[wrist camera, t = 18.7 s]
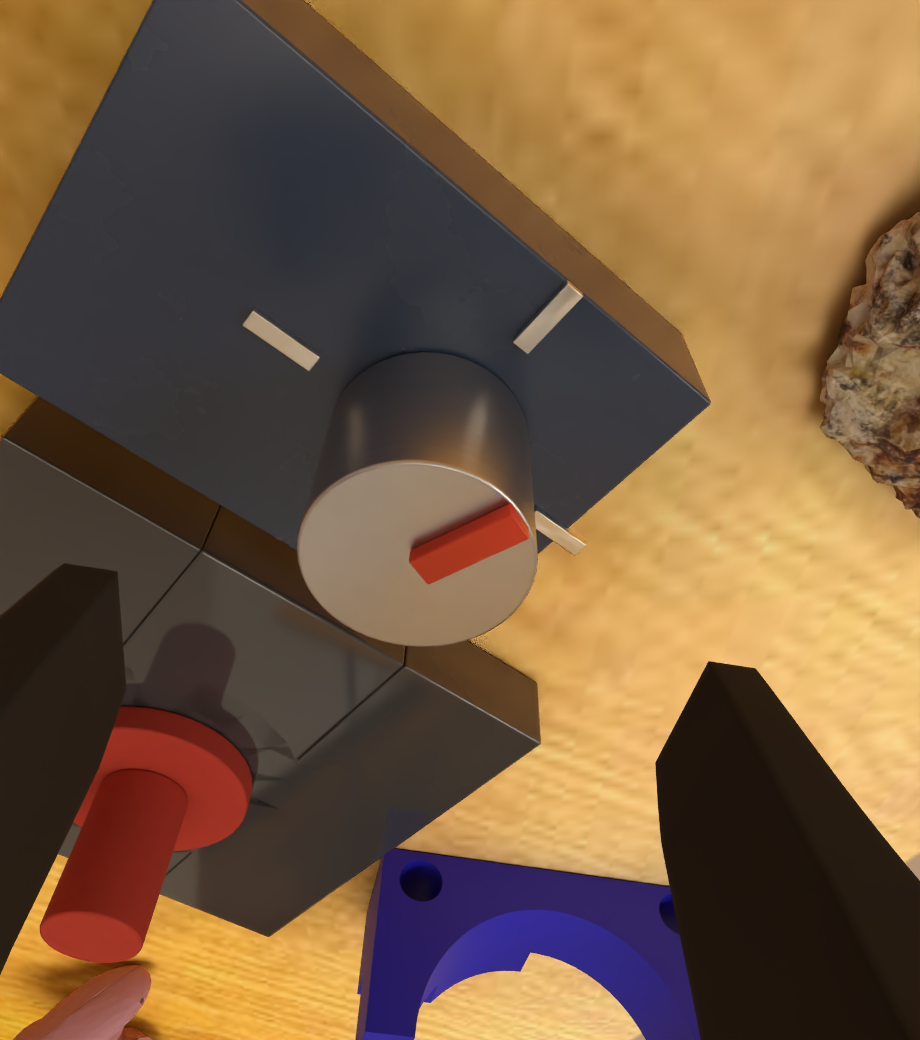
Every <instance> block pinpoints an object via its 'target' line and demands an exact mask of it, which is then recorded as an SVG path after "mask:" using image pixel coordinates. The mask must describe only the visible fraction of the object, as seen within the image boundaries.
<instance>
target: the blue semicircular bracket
mask: <svg viewBox="0 0 920 1040" xmlns="http://www.w3.org/2000/svg"><path fill="white" fill-rule="evenodd" d="M530 952H531V953H537V954H541V955H545V956H550V957H552V958H555V959H558V960H561V961H563V962H566V963H568V964H570V965H572V966H574V967H576V968H578V969H579V970H581V971H583V972H584V973H586V974H588V975H589V976H590V977H592V978H593V979H594V980H596V981H597V982H599V983H600V984H601V985H602V986H603V987H604V988H606V989H607V990H608V991H609V992H610V993H611V994H612V995H613V996H614V997H615V998H616V999H617V1000H618V1001H619V1002H620V1003H621V1004H622V1006H623V1007H624V1008H625V1009H626V1011H627V1012H628V1013H629V1014H630V1016H631V1017H632V1018H633V1020H634V1021H635V1023H636V1024H637V1026H638V1027H639V1029H640V1030H641V1032H642V1034H643V1036H644V1037H645V1039H646V1040H700V1034H699V1028H698V1022H697V1018H696V1013H695V1008H694V1003H693V998H692V993H691V988H690V983H689V978H688V973H687V969H686V964H685V959H684V954H683V949H682V944H681V939H680V934H679V929H678V924H677V920H676V915H675V910H674V905H673V900H672V895H671V890H670V887H665V886H658V885H651V884H644V883H636V882H629V881H622V880H615V879H608V878H601V877H593V876H586V875H579V874H572V873H565V872H558V871H550V870H543V869H536V868H529V867H522V866H514V865H507V864H500V863H493V862H486V861H479V860H471V859H464V858H457V857H450V856H443V855H436V854H428V853H421V852H414V851H407V850H400V849H392V850H391V851H390V852H388V853H387V854H385V855H384V856H382V858H381V862H380V866H379V869H378V873H377V877H376V881H375V884H374V888H373V892H372V895H371V899H370V903H369V906H368V910H367V916H366V925H365V933H364V942H363V950H362V959H361V967H360V976H359V985H358V993H357V994H361V997H360V1006H359V1015H358V1023H357V1032H356V1040H414V1038H415V1031H416V1022H417V1016H418V1012H419V1009H420V1007H421V1005H422V1003H423V1002H428V1003H431V1002H432V1001H433V1000H434V999H435V998H436V997H438V996H439V995H440V994H441V993H442V992H444V991H445V990H447V989H448V988H450V987H451V986H453V985H454V984H456V983H458V982H460V981H462V980H464V979H467V978H469V977H472V976H475V975H478V974H482V973H487V972H494V971H521V969H522V967H523V965H524V963H525V961H526V960H527V958H528V956H529V954H530Z"/></svg>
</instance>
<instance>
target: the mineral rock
mask: <svg viewBox="0 0 920 1040" xmlns="http://www.w3.org/2000/svg"><path fill="white" fill-rule="evenodd" d="M865 264H866V269H867V276H866V284H864V285H861V286H857V287H853V289H852V294H851V299H850V305H849V311H848V314H847V317H846V319H845V320H844V322H843V325H842V329H841V333H840V336H839V346H838V347H837V349H836V350H835V351H834V353H833V354H832V355H831V357H830V358H829V360H828V361H827V367H826V369H825V371H824V373H823V376H822V380H821V383H822V385H823V388H822V391H821V394H820V401H822V402H824V403H825V404H826V409H825V413H824V421H823V423H822V424H821V426H820V428H821V430H822V431H823V432H824V434H825V435H826V436H827V437H828V438H831V439H834V440H838V441H839V443H840V444H841V445H842V446H843V447H844V448H846V449H847V451H848V452H849V453H850V455H851V456H852V457H853V459H855V460H857V461H859V462H861V463H864V464H865V468H866V469H867V471H868V472H869V473H870V474H871V476H872V478H873V480H875V481H876V482H877V483H883V484H889V485H893V487H894V489H895V491H896V498H897V499H899V500H900V501H902V502H903V504H904V507H905V509H912V510H913V512H914V513H915V515H916V516H917V517H919V518H920V211H919V212H918V213H916V214H915V215H914V216H913V217H911V218H910V219H908V220H900V221H899V222H898V223H897V224H896V225H895V226H894V227H893V228H892V229H891V230H890V231H889V232H887V233H885V234H883V235H881V236H880V237H879V239H878V240H877V242H876V243H875V245H874V246H873V247H872V249H871V250H870V252H869V254H868V256H867V258H866V260H865Z"/></svg>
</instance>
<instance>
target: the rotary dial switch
mask: <svg viewBox="0 0 920 1040" xmlns="http://www.w3.org/2000/svg"><path fill="white" fill-rule="evenodd" d="M420 352H431V353H442V354H448V355H453V356H456V357H460V358H463V359H466V360H468V361H471V362H473V363H475V364H477V365H479V366H481V367H483V368H484V369H486V370H488V371H489V372H491V373H492V374H493V375H495V376H496V377H497V378H498V379H500V380H501V381H502V382H503V383H504V384H505V385H506V386H507V387H508V388H509V390H510V391H511V392H512V394H513V395H514V396H515V398H516V399H517V401H518V403H519V404H520V406H521V408H522V410H523V413H524V416H525V418H526V422H527V426H528V431H529V444H530V458H531V471H532V484H533V498H534V511H535V524H536V538H537V552H538V554H539V553H540V552H541V551H542V550H543V549H544V548H546V547H547V546H548V545H549V544H550V543H551V542H552V541H554V542H556V543H557V544H559V545H560V546H561V547H563V548H564V549H566V550H567V551H569V552H570V553H572V554H573V555H576V554H577V553H579V552H580V551H581V550H582V549H583V548H585V547H586V541H585V540H583V539H582V538H580V537H579V536H578V535H576V534H575V533H573V532H572V531H571V530H569V529H568V528H569V527H570V526H571V525H572V524H573V523H574V522H575V521H577V520H578V519H579V518H580V517H581V516H582V515H583V514H585V513H586V512H587V511H588V510H589V509H590V508H592V507H593V506H594V505H595V504H596V503H597V502H598V501H600V500H601V499H602V498H603V497H604V496H605V495H606V494H608V493H609V492H610V491H611V490H612V489H613V488H614V487H616V486H617V485H618V484H619V483H620V482H621V481H623V480H624V479H625V478H626V477H627V476H628V475H629V474H631V473H632V472H633V471H634V470H635V469H636V468H637V467H639V466H640V465H641V464H642V463H643V462H644V461H646V460H647V459H648V458H649V457H650V456H651V455H652V454H654V453H655V452H656V451H657V450H658V449H659V448H660V447H662V446H663V445H664V444H665V443H666V442H667V441H669V440H670V439H671V438H672V437H673V436H674V435H675V434H677V433H678V432H679V431H680V430H681V429H682V428H683V427H685V426H686V425H687V424H688V423H689V422H690V421H692V420H693V419H694V418H695V417H696V416H697V415H698V414H700V413H701V412H702V411H703V410H704V409H705V408H706V407H708V406H709V405H710V403H711V401H710V399H709V397H708V394H707V392H706V390H705V387H704V385H703V383H702V380H701V378H700V376H699V373H698V371H697V369H696V366H695V364H694V362H693V359H692V357H691V355H690V352H689V350H688V348H687V345H686V343H685V341H684V338H683V336H682V334H681V333H680V332H679V331H678V330H677V329H676V328H675V327H674V326H672V325H671V324H670V323H669V322H668V321H667V320H666V319H664V318H663V317H662V316H661V315H660V314H659V313H658V312H657V311H655V310H654V309H653V308H652V307H651V306H650V305H649V304H647V303H646V302H645V301H644V300H643V299H642V298H641V297H639V296H638V295H637V294H636V293H635V292H634V291H633V290H632V289H630V288H629V287H628V286H627V285H626V284H625V283H624V282H622V281H621V280H620V279H619V278H618V277H617V276H616V275H615V274H613V273H612V272H611V271H610V270H609V269H608V268H607V267H605V266H604V265H603V264H602V263H601V262H600V261H599V260H597V259H596V258H595V257H594V256H593V255H592V254H591V253H590V252H588V251H587V250H586V249H585V248H584V247H583V246H582V245H580V244H579V243H578V242H577V241H576V240H575V239H574V238H573V237H571V236H570V235H569V234H568V233H567V232H566V231H565V230H563V229H562V228H561V227H560V226H559V225H558V224H557V223H555V222H554V221H553V220H552V219H551V218H550V217H549V216H548V215H546V214H545V213H544V212H543V211H542V210H541V209H540V208H538V207H537V206H536V205H535V204H534V203H533V202H532V201H531V200H529V199H528V198H527V197H526V196H525V195H524V194H523V193H521V192H520V191H519V190H518V189H517V188H516V187H515V186H513V185H512V184H511V183H510V182H509V181H508V180H507V179H506V178H504V177H503V176H502V175H501V174H500V173H499V172H498V171H496V170H495V169H494V168H493V167H492V166H491V165H490V164H489V163H487V162H486V161H485V160H484V159H483V158H482V157H481V156H479V155H478V154H477V153H476V152H475V151H474V150H473V149H471V148H470V147H469V146H468V145H467V144H466V143H465V142H464V141H462V140H461V139H460V138H459V137H458V136H457V135H456V134H454V133H453V132H452V131H451V130H450V129H449V128H448V127H447V126H445V125H444V124H443V123H442V122H441V121H440V120H439V119H437V118H436V117H435V116H434V115H433V114H432V113H431V112H429V111H428V110H427V109H426V108H425V107H424V106H423V105H422V104H420V103H419V102H418V101H417V100H416V99H415V98H414V97H412V96H411V95H410V94H409V93H408V92H407V91H406V90H405V89H403V88H402V87H401V86H400V85H399V84H398V83H397V82H395V81H394V80H393V79H392V78H391V77H390V76H389V75H387V74H386V73H385V72H384V71H383V70H382V69H381V68H380V67H378V66H377V65H376V64H375V63H374V62H373V61H372V60H370V59H369V58H368V57H367V56H366V55H365V54H364V53H363V52H361V51H360V50H359V49H358V48H357V47H356V46H355V45H353V44H352V43H351V42H350V41H349V40H348V39H347V38H345V37H344V36H343V35H342V34H341V33H340V32H339V31H338V30H336V29H335V28H334V27H333V26H332V25H331V24H330V23H328V22H327V21H326V20H325V19H324V18H323V17H322V16H321V15H319V14H318V13H317V12H316V11H315V10H314V9H313V8H311V7H310V6H309V5H308V4H307V3H306V2H305V1H303V0H153V1H152V3H151V5H150V7H149V9H148V10H147V12H146V14H145V16H144V18H143V20H142V22H141V24H140V26H139V28H138V30H137V32H136V34H135V36H134V38H133V40H132V42H131V44H130V46H129V48H128V50H127V52H126V54H125V55H124V57H123V59H122V61H121V63H120V65H119V67H118V69H117V71H116V73H115V75H114V77H113V79H112V81H111V83H110V85H109V87H108V89H107V91H106V93H105V95H104V97H103V99H102V100H101V102H100V104H99V106H98V108H97V110H96V112H95V114H94V116H93V118H92V120H91V122H90V124H89V126H88V128H87V130H86V132H85V134H84V136H83V138H82V140H81V142H80V144H79V145H78V147H77V149H76V151H75V153H74V155H73V157H72V159H71V161H70V163H69V165H68V167H67V169H66V171H65V173H64V175H63V177H62V179H61V181H60V183H59V185H58V187H57V189H56V190H55V192H54V194H53V196H52V198H51V200H50V202H49V204H48V206H47V208H46V210H45V212H44V214H43V216H42V218H41V220H40V222H39V224H38V226H37V228H36V230H35V232H34V233H33V235H32V237H31V239H30V241H29V243H28V245H27V247H26V249H25V251H24V253H23V255H22V257H21V259H20V261H19V263H18V265H17V267H16V269H15V271H14V273H13V275H12V277H11V278H10V280H9V282H8V284H7V286H6V288H5V290H4V292H3V294H2V296H1V298H0V374H2V375H4V376H5V377H7V378H9V379H10V380H12V381H14V382H15V383H17V384H19V385H20V386H22V387H24V388H26V389H27V390H29V391H31V392H32V393H34V394H36V395H37V396H39V397H41V398H42V399H44V400H46V401H47V402H49V403H51V404H52V405H54V406H56V407H57V408H59V409H61V410H62V411H64V412H66V413H67V414H69V415H71V416H72V417H74V418H76V419H77V420H79V421H81V422H82V423H84V424H86V425H87V426H89V427H91V428H92V429H94V430H96V431H97V432H99V433H101V434H102V435H104V436H106V437H107V438H109V439H111V440H112V441H114V442H116V443H118V444H119V445H121V446H123V447H124V448H126V449H128V450H129V451H131V452H133V453H134V454H136V455H138V456H139V457H141V458H143V459H144V460H146V461H148V462H149V463H151V464H153V465H154V466H156V467H158V468H159V469H161V470H163V471H164V472H166V473H168V474H169V475H171V476H173V477H174V478H176V479H178V480H179V481H181V482H183V483H184V484H186V485H188V486H189V487H191V488H193V489H194V490H196V491H198V492H199V493H201V494H203V495H204V496H206V497H208V498H210V499H211V500H213V501H215V502H216V503H218V504H220V505H221V506H223V507H225V508H226V509H228V510H230V511H231V512H233V513H235V514H236V515H238V516H240V517H241V518H243V519H245V520H246V521H248V522H250V523H251V524H253V525H255V526H256V527H258V528H260V529H261V530H263V531H265V532H266V533H268V534H270V535H271V536H273V537H275V538H276V539H278V540H280V541H281V542H283V543H285V544H286V545H288V546H290V547H291V548H293V549H295V550H297V537H298V533H299V529H300V525H301V521H302V518H303V514H304V511H305V507H306V504H307V500H308V497H309V493H310V490H311V487H312V483H313V480H314V476H315V473H316V469H317V466H318V462H319V459H320V455H321V452H322V448H323V445H324V441H325V438H326V435H327V431H328V428H329V424H330V421H331V417H332V414H333V411H334V408H335V406H336V404H337V401H338V400H339V398H340V396H341V395H342V393H343V391H344V390H345V389H346V388H347V386H348V385H349V384H350V383H351V382H352V381H353V380H354V379H355V378H356V377H357V376H358V375H360V374H361V373H362V372H364V371H365V370H367V369H368V368H370V367H371V366H373V365H375V364H377V363H379V362H381V361H383V360H386V359H389V358H392V357H395V356H399V355H404V354H409V353H420Z"/></svg>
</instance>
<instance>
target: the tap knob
mask: <svg viewBox="0 0 920 1040" xmlns="http://www.w3.org/2000/svg"><path fill="white" fill-rule="evenodd" d="M297 556H298V563H299V567H300V570H301V574H302V576H303V578H304V581H305V583H306V585H307V587H308V589H309V590H310V592H311V593H312V595H313V596H314V598H315V599H316V600H317V601H318V602H319V604H320V605H321V606H322V607H323V608H324V609H325V610H326V611H327V612H328V613H329V614H330V615H332V616H333V617H334V618H336V619H337V620H338V621H340V622H341V623H342V624H344V625H346V626H347V627H349V628H351V629H353V630H354V631H356V632H359V633H361V634H363V635H365V636H368V637H371V638H374V639H377V640H380V641H383V642H388V643H392V644H397V645H404V646H416V647H430V646H442V645H449V644H454V643H458V642H462V641H466V640H469V639H472V638H475V637H477V636H480V635H482V634H484V633H486V632H488V631H490V630H492V629H493V628H495V627H496V626H498V625H499V624H501V623H502V622H504V621H505V620H506V619H507V618H508V617H510V616H511V615H512V614H513V613H514V612H515V611H516V610H517V608H518V607H519V606H520V605H521V604H522V602H523V601H524V599H525V598H526V596H527V595H528V593H529V591H530V589H531V586H532V584H533V582H534V578H535V575H536V571H537V563H538V552H537V538H536V524H535V511H534V498H533V484H532V471H531V458H530V444H529V431H528V426H527V422H526V418H525V416H524V413H523V410H522V408H521V406H520V404H519V403H518V401H517V399H516V398H515V396H514V395H513V394H512V392H511V391H510V390H509V388H508V387H507V386H506V385H505V384H504V383H503V382H502V381H501V380H500V379H498V378H497V377H496V376H495V375H493V374H492V373H491V372H489V371H488V370H486V369H484V368H483V367H481V366H479V365H477V364H475V363H473V362H471V361H468V360H466V359H463V358H460V357H456V356H453V355H448V354H442V353H431V352H420V353H409V354H404V355H399V356H395V357H392V358H389V359H386V360H383V361H381V362H379V363H377V364H375V365H373V366H371V367H370V368H368V369H367V370H365V371H364V372H362V373H361V374H360V375H358V376H357V377H356V378H355V379H354V380H353V381H352V382H351V383H350V384H349V385H348V386H347V388H346V389H345V390H344V391H343V393H342V395H341V396H340V398H339V400H338V401H337V404H336V406H335V408H334V411H333V414H332V417H331V421H330V424H329V428H328V431H327V435H326V438H325V441H324V445H323V448H322V452H321V455H320V459H319V462H318V466H317V469H316V473H315V476H314V480H313V483H312V487H311V490H310V493H309V497H308V500H307V504H306V507H305V511H304V514H303V518H302V521H301V525H300V529H299V533H298V537H297Z"/></svg>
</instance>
